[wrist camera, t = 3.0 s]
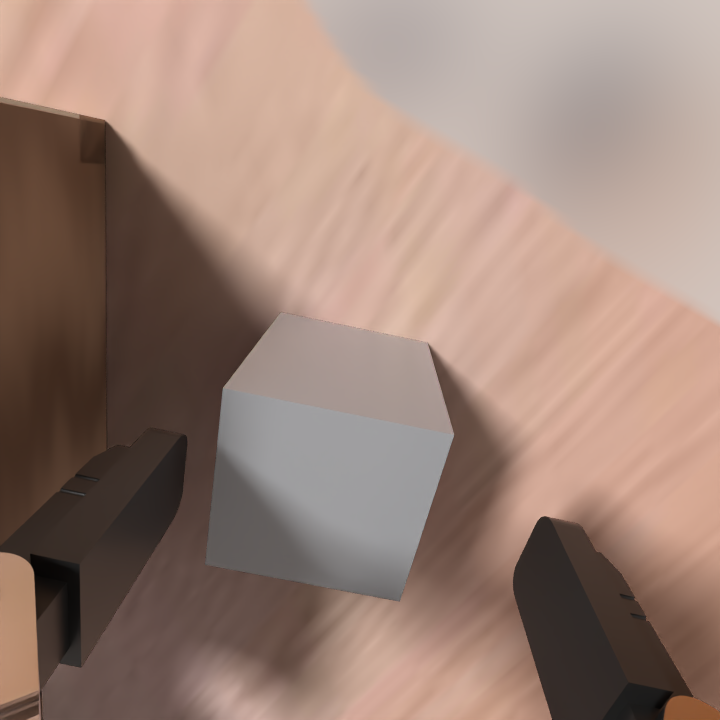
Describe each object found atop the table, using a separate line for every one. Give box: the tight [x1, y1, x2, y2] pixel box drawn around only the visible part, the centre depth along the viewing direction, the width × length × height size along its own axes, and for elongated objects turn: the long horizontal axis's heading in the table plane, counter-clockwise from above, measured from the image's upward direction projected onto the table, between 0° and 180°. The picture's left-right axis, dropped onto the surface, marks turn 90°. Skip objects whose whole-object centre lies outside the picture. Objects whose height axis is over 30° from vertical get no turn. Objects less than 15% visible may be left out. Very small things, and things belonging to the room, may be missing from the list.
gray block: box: [205, 312, 454, 601], centre depth 13 cm, size 5×5×6 cm
